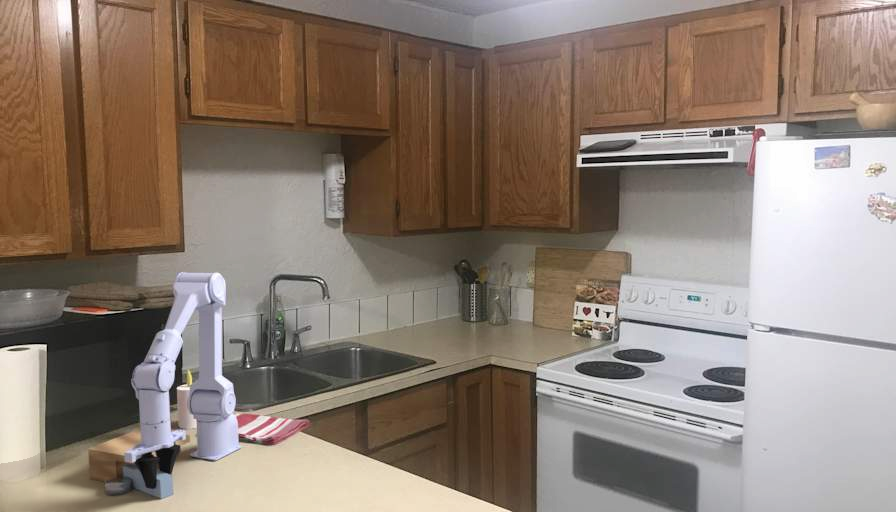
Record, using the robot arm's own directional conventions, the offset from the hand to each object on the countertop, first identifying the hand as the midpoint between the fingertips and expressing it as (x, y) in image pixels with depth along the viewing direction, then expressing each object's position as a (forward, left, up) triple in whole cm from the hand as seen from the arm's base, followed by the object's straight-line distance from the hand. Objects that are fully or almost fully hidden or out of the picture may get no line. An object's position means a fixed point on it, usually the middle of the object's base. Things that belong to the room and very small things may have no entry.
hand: (158, 484), depth 147 cm
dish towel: (-39, -7, -3) cm, 40 cm away
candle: (-36, -25, -2) cm, 44 cm away
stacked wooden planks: (-8, -13, -2) cm, 15 cm away
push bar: (-1, -4, -2) cm, 4 cm away
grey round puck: (+2, -9, -2) cm, 9 cm away
